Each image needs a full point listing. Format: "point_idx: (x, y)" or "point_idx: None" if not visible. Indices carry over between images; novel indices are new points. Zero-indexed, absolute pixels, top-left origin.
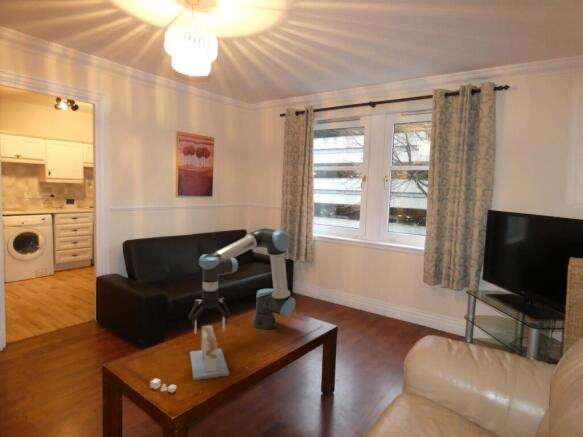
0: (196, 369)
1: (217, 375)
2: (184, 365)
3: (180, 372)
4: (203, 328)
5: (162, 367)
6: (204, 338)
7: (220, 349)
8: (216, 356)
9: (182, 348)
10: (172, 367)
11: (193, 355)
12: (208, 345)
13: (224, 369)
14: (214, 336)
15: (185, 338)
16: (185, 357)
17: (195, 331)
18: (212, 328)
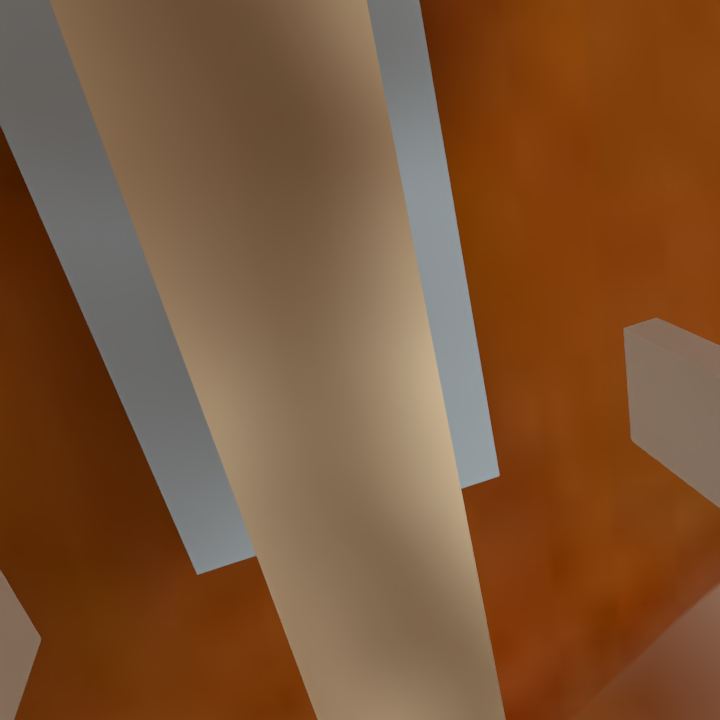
0: (389, 94)
1: None
2: (519, 242)
3: (546, 91)
4: (475, 657)
5: (712, 200)
6: (410, 256)
7: (198, 551)
8: None
9: (563, 549)
10: (627, 200)
11: (459, 406)
12: None
13: (30, 81)
14: (189, 333)
15: (552, 703)
16: (524, 397)
17: (687, 341)
18: (310, 685)
